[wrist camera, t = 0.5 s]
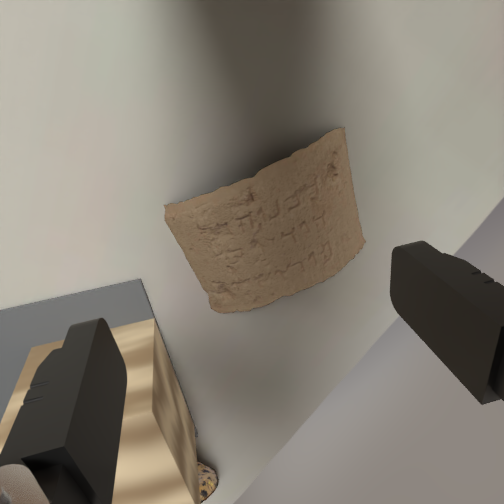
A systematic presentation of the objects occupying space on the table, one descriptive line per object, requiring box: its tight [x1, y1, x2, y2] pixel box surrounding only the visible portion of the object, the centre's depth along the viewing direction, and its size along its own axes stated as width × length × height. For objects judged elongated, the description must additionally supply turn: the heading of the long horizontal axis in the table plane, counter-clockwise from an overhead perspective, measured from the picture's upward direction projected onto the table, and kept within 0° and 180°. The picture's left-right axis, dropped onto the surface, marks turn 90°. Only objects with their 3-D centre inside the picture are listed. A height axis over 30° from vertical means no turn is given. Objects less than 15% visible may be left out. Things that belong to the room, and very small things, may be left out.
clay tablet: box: [164, 127, 366, 313], centre depth 28 cm, size 16×11×3 cm
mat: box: [0, 279, 198, 437], centre depth 33 cm, size 22×26×1 cm
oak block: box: [0, 318, 201, 504], centre depth 30 cm, size 16×10×9 cm, turn 7°
